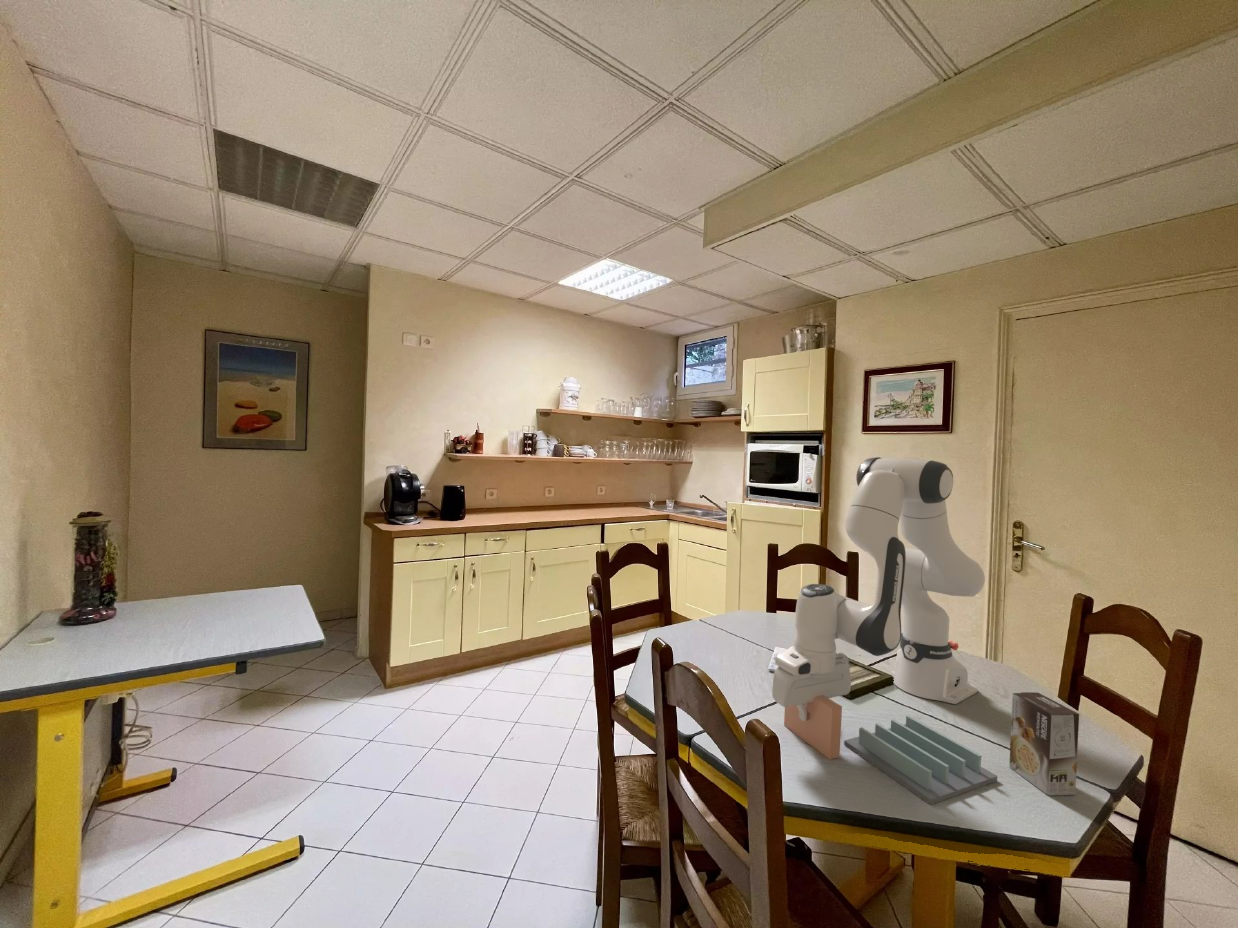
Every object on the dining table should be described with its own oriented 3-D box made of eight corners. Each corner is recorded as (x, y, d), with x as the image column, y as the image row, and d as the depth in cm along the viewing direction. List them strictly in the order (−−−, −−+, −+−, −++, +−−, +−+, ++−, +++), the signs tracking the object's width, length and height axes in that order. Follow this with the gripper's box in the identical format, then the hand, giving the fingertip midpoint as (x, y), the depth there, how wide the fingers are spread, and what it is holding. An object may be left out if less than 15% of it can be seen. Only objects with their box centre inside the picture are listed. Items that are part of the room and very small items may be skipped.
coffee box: (1077, 795, 96) (1082, 714, 96) (1047, 796, 95) (1052, 714, 95) (1034, 765, 105) (1038, 691, 105) (1006, 765, 105) (1010, 691, 104)
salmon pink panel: (793, 722, 119) (795, 677, 118) (839, 756, 106) (842, 706, 105) (784, 724, 118) (786, 679, 117) (829, 759, 105) (832, 708, 104)
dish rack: (905, 728, 118) (906, 709, 118) (997, 780, 100) (998, 758, 100) (844, 744, 110) (845, 724, 110) (930, 804, 92) (931, 781, 92)
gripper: (837, 646, 118) (834, 703, 118) (769, 657, 110) (766, 718, 111) (859, 657, 112) (856, 716, 113) (789, 669, 104) (786, 733, 105)
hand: (811, 717), depth 112 cm, fingers closed on salmon pink panel, 3 cm apart
